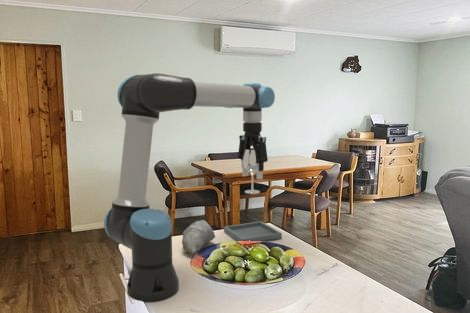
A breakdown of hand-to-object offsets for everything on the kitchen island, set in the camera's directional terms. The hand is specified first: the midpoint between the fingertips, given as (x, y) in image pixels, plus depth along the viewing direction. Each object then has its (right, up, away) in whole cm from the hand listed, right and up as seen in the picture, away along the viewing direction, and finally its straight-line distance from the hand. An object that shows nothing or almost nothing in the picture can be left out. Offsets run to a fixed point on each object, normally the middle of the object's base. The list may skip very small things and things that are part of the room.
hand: (252, 177), depth 162 cm
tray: (0, -25, +3) cm, 25 cm away
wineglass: (0, -6, +1) cm, 6 cm away
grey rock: (-21, -27, -11) cm, 36 cm away
